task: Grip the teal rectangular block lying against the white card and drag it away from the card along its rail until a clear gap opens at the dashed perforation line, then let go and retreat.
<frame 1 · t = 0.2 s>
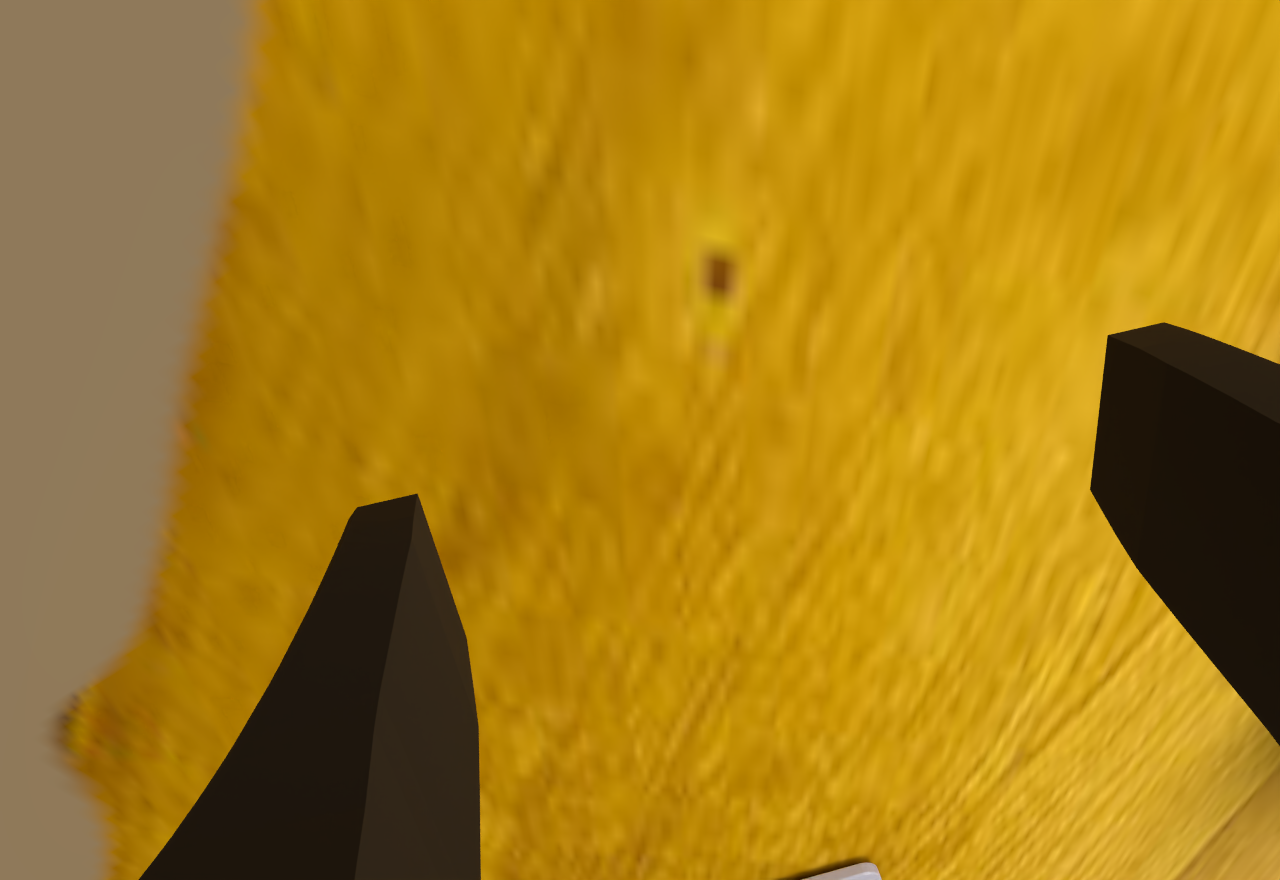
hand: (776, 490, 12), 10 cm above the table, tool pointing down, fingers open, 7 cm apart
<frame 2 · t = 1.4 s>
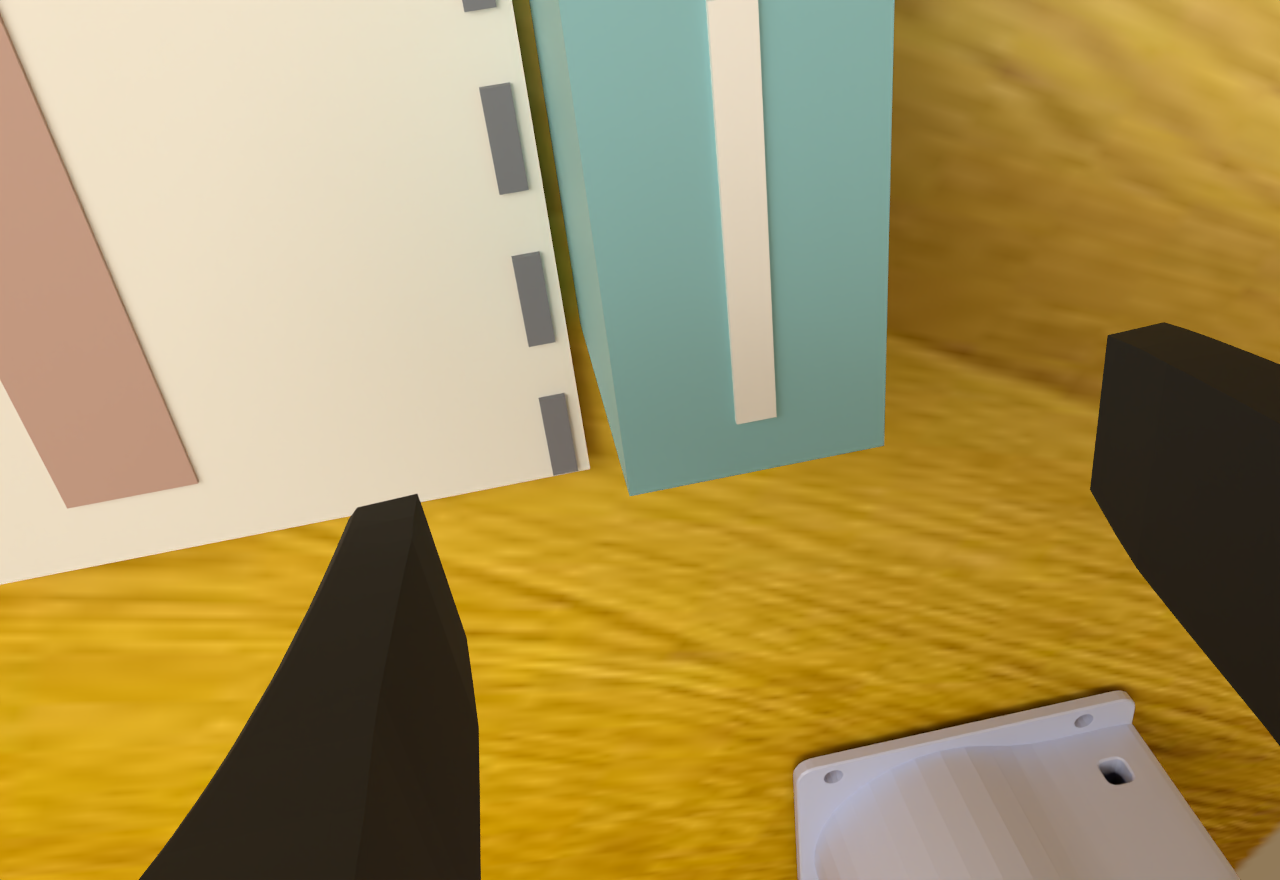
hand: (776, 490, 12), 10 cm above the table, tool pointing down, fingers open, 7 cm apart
white card: (172, 182, 19), on the table
teal rectangular block: (699, 157, 17), point 3 cm above the table, slide at 0.0 cm
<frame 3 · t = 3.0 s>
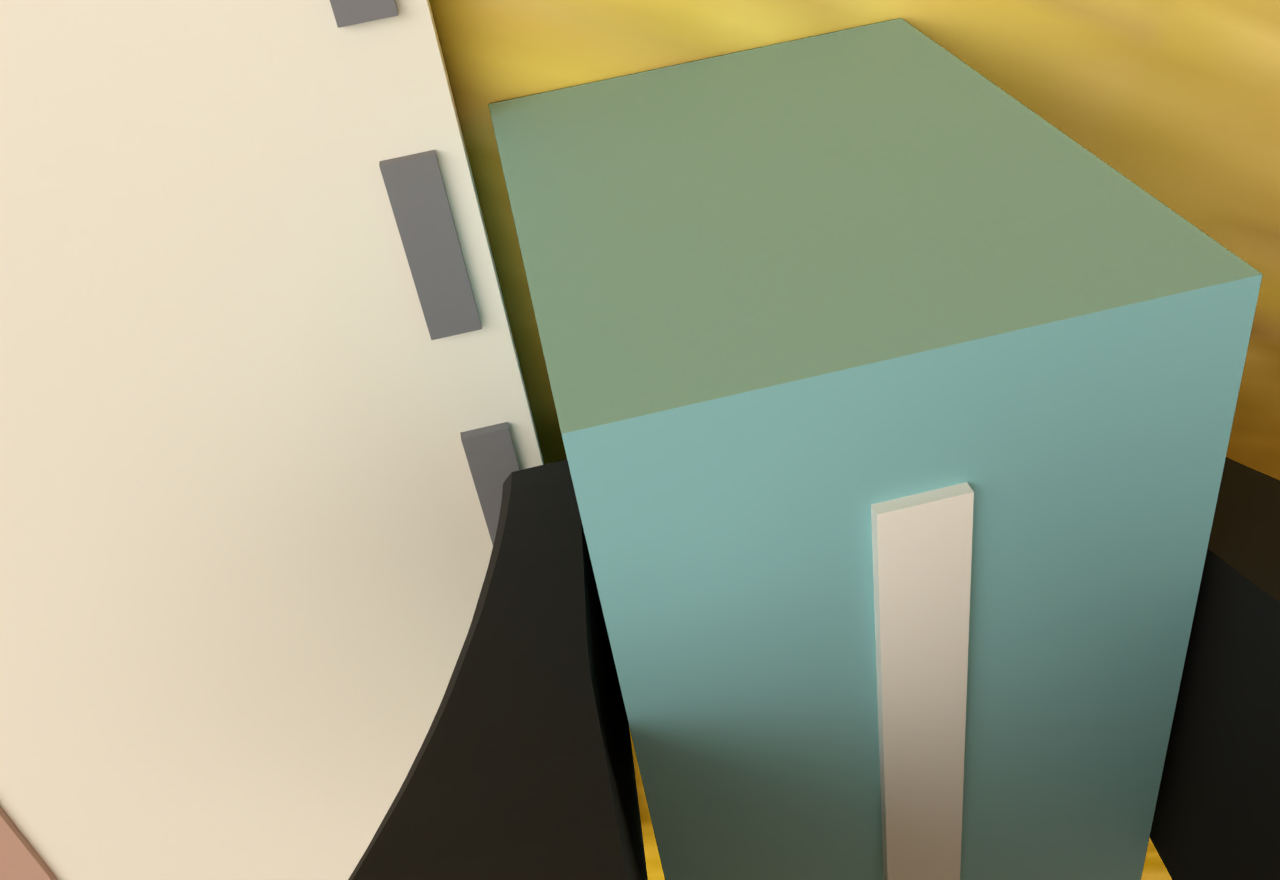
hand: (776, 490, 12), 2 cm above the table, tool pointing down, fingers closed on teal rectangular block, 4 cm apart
white card: (9, 573, 12), on the table
teal rectangular block: (811, 566, 11), point 3 cm above the table, slide at 0.0 cm, touching gripper
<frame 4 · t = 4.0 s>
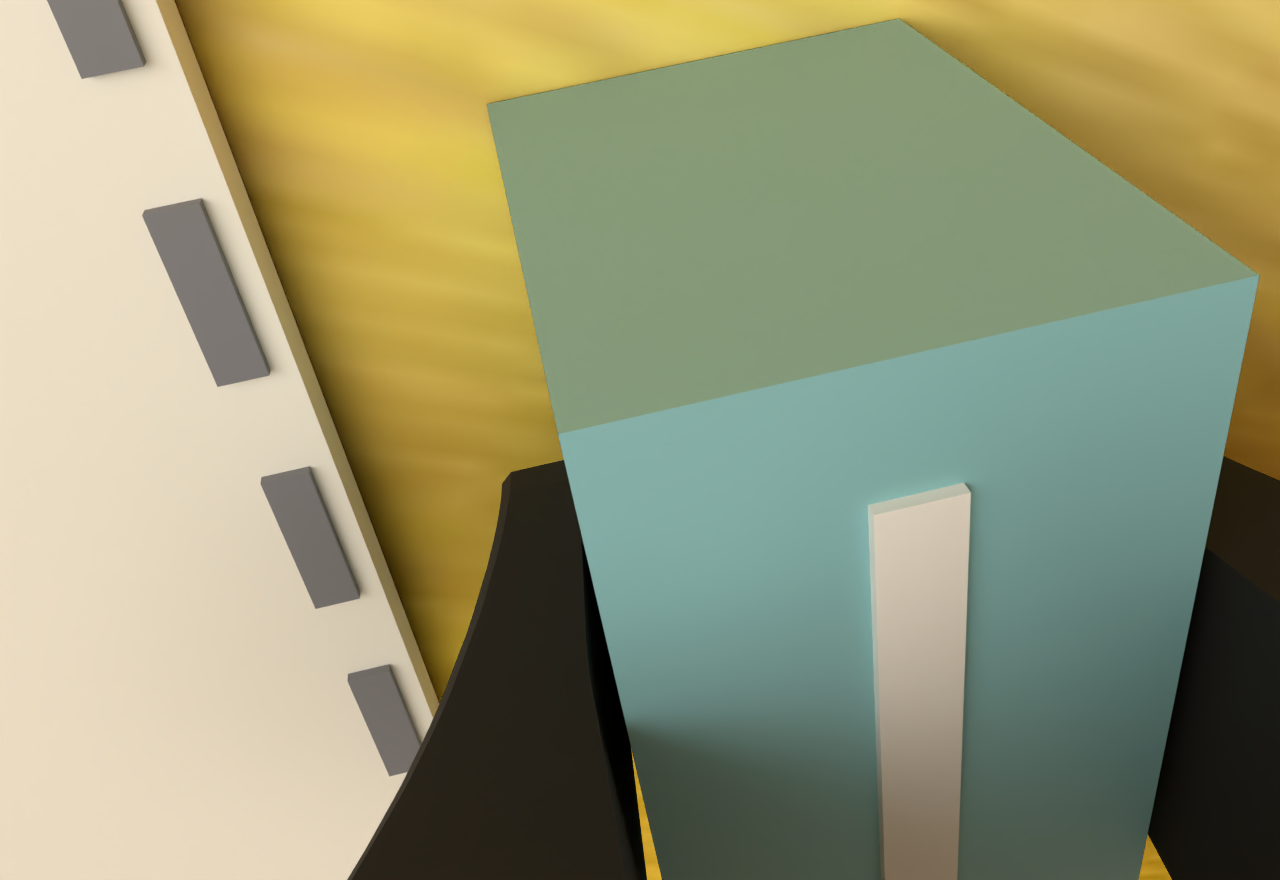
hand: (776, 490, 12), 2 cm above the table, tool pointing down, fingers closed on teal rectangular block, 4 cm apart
teal rectangular block: (809, 566, 11), point 3 cm above the table, slide at 2.1 cm, touching gripper
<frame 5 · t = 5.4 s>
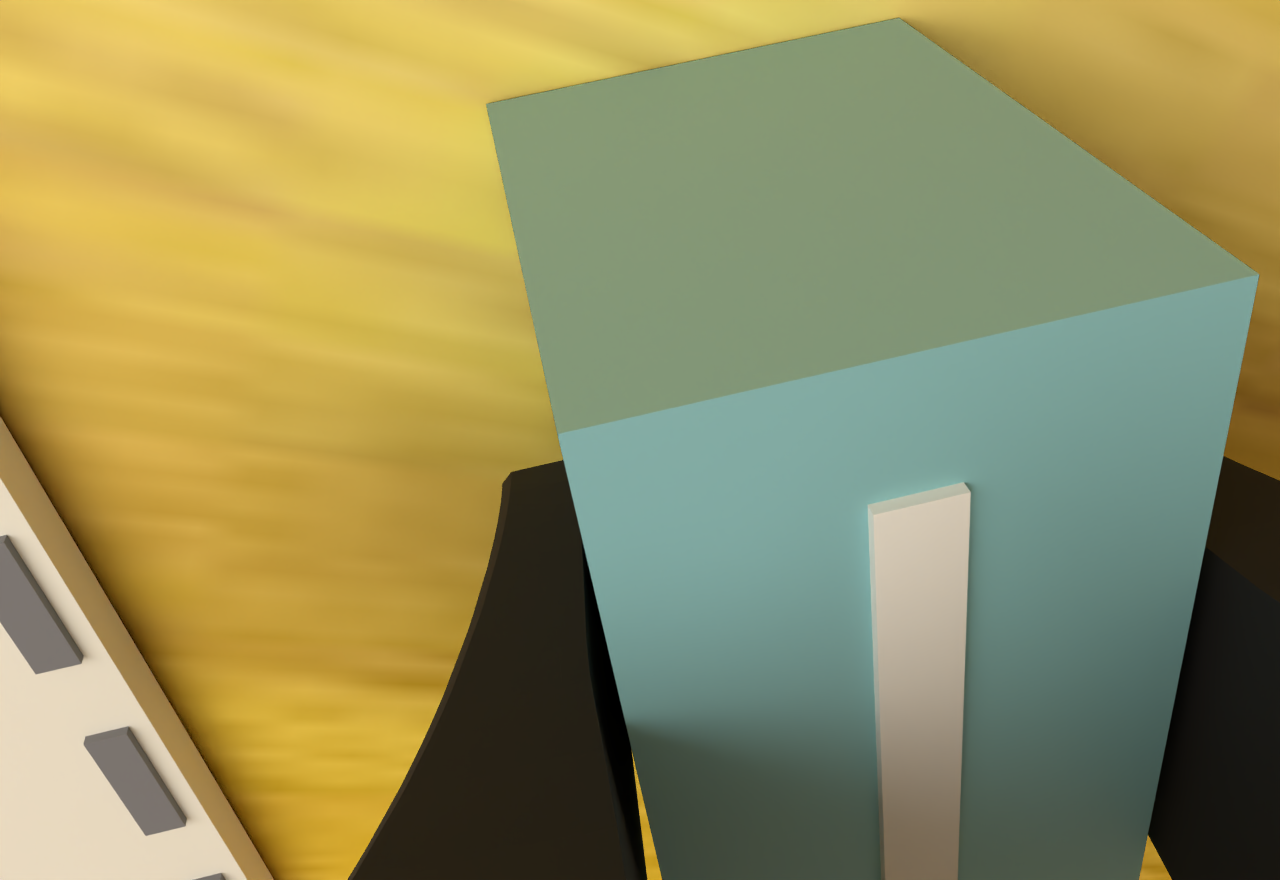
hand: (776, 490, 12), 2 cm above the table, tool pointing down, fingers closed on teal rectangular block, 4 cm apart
teal rectangular block: (809, 566, 11), point 3 cm above the table, slide at 5.2 cm, touching gripper
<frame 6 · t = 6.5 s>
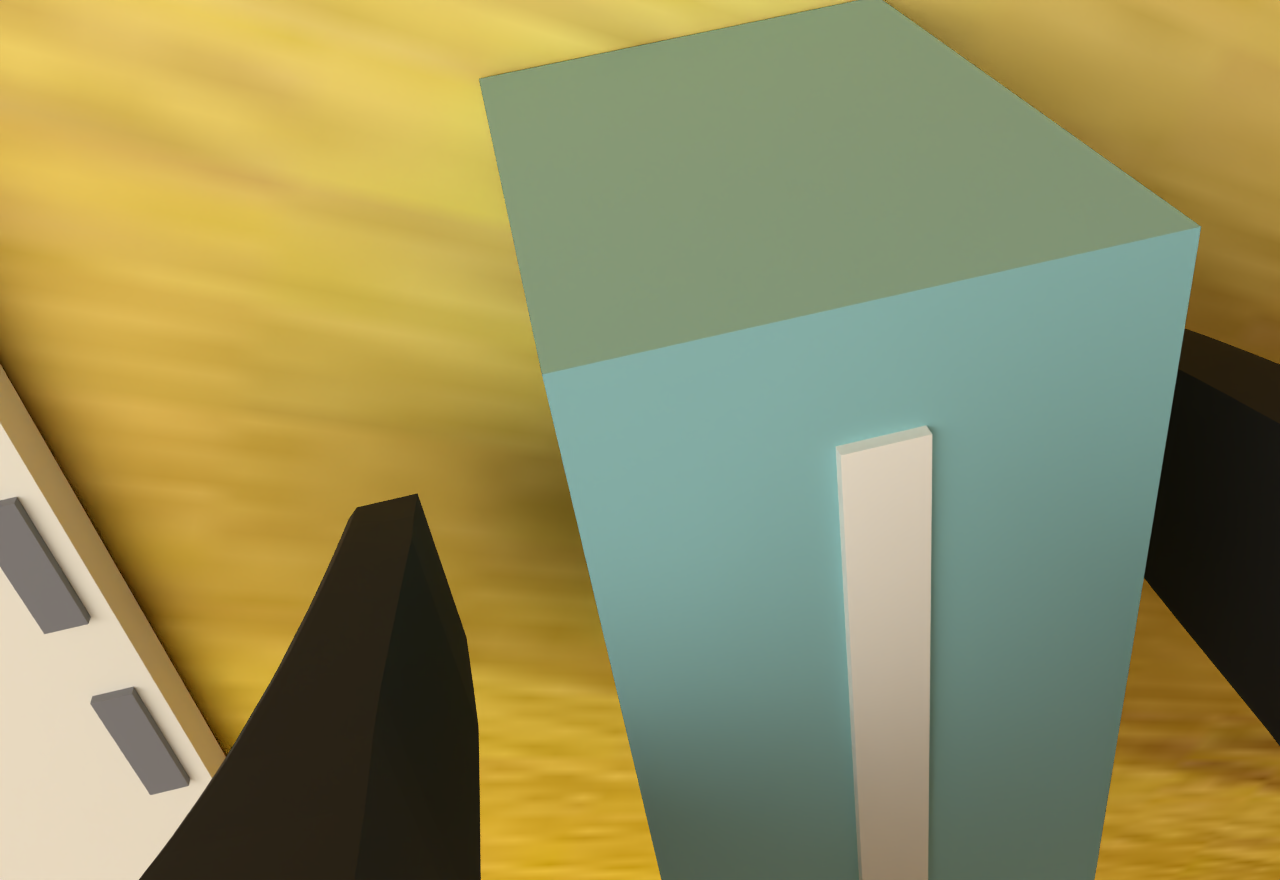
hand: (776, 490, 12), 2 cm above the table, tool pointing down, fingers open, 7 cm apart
teal rectangular block: (790, 524, 11), point 3 cm above the table, slide at 5.2 cm
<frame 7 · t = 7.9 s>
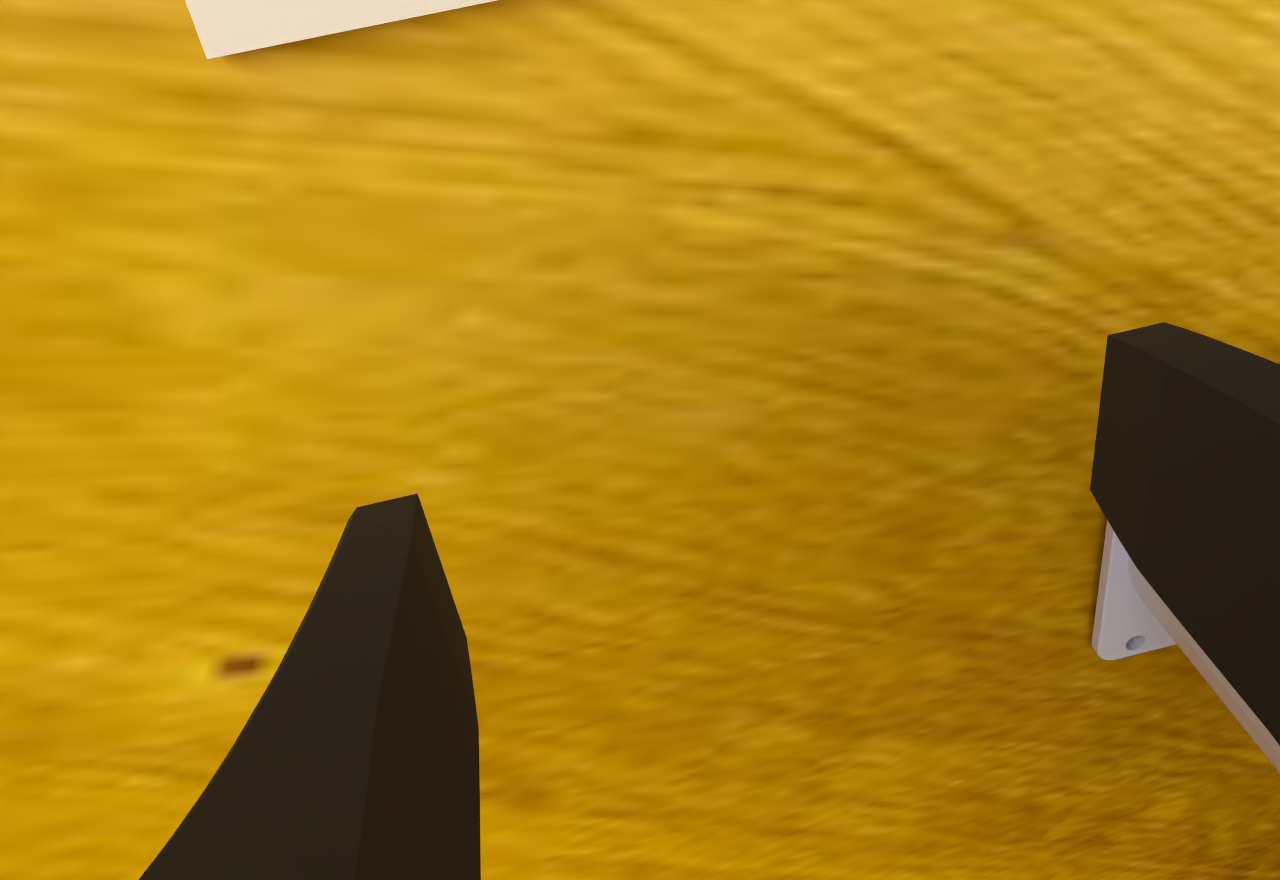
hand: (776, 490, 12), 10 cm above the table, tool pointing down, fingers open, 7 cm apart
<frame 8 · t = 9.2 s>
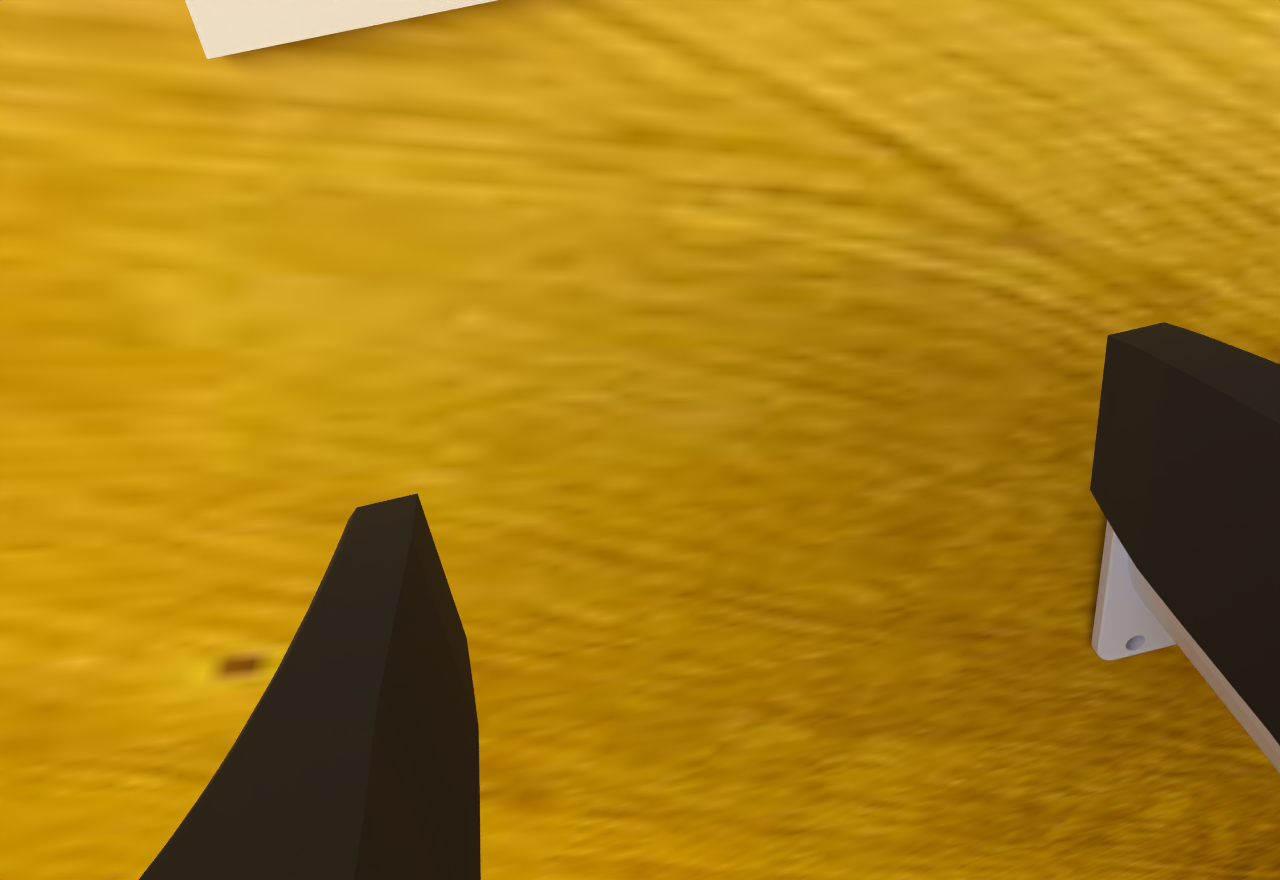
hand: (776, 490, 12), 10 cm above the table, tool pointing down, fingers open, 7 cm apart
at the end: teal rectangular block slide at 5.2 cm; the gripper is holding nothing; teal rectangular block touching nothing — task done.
